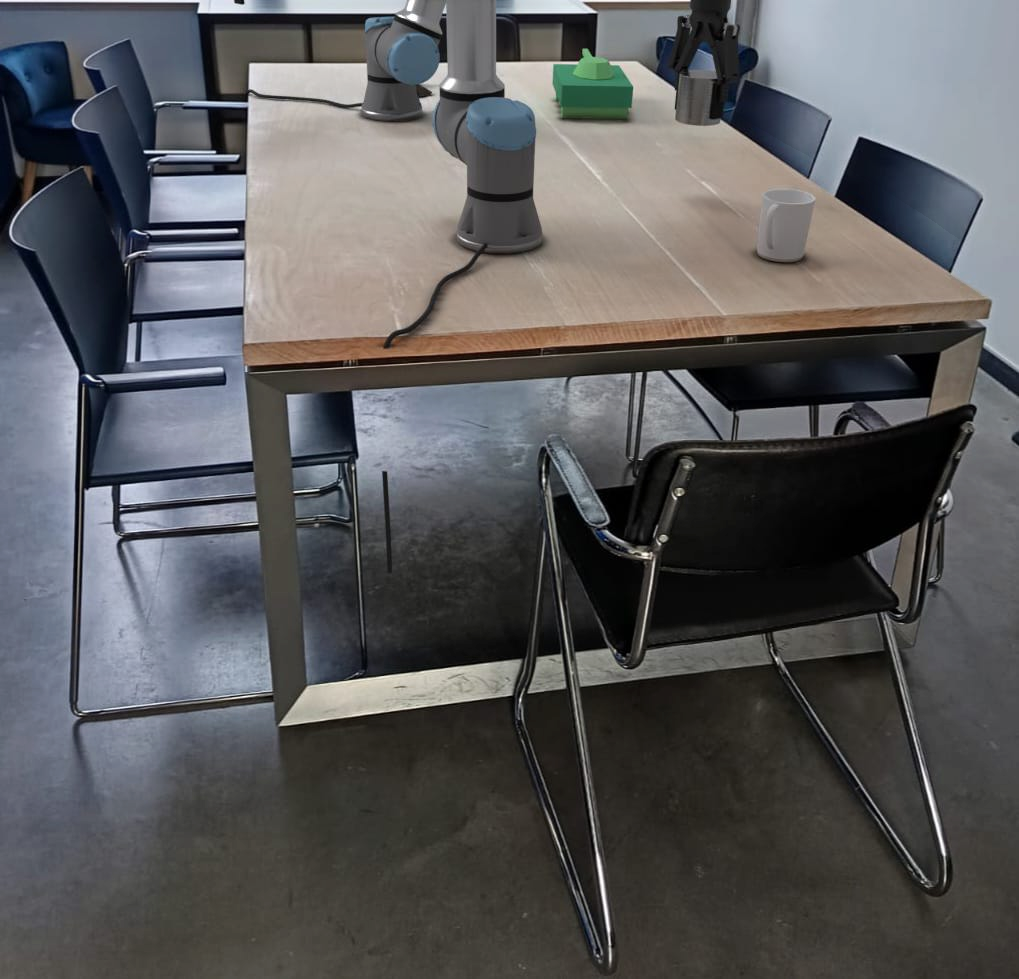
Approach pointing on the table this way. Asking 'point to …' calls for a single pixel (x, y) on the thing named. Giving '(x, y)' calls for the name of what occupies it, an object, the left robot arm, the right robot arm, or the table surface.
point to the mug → (784, 224)
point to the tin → (696, 97)
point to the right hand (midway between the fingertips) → (698, 113)
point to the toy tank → (592, 89)
